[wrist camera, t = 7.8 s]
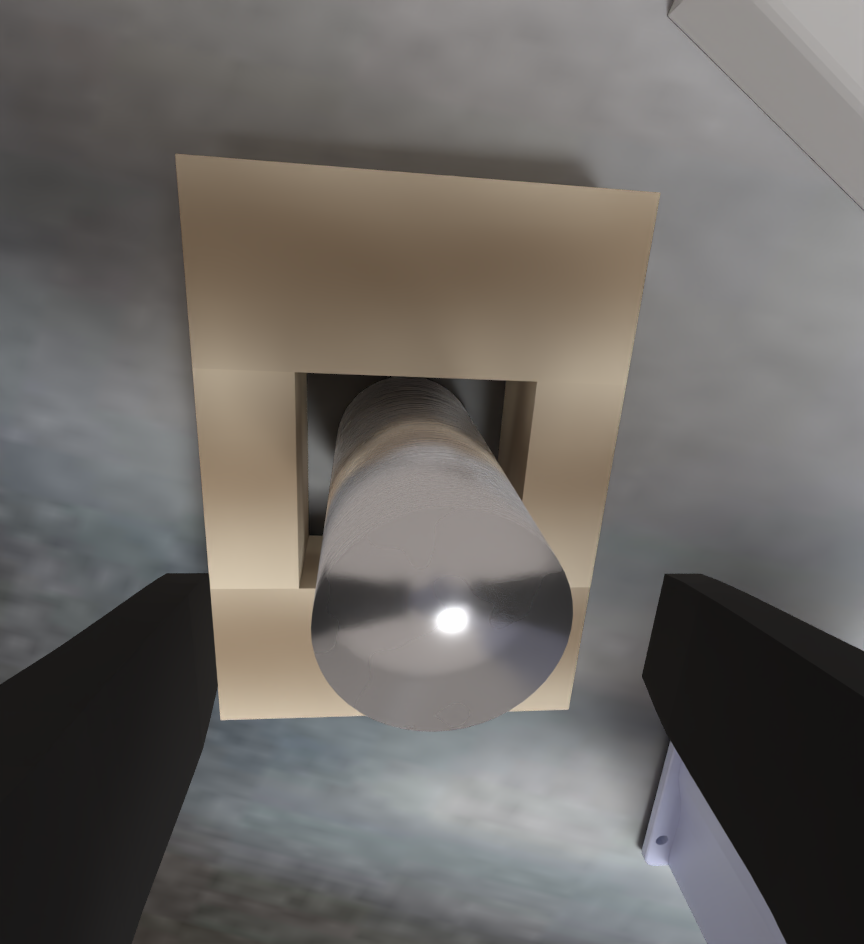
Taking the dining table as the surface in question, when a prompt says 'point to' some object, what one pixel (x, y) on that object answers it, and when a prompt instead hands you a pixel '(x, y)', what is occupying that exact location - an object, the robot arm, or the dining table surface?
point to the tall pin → (431, 568)
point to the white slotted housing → (794, 70)
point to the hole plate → (393, 369)
